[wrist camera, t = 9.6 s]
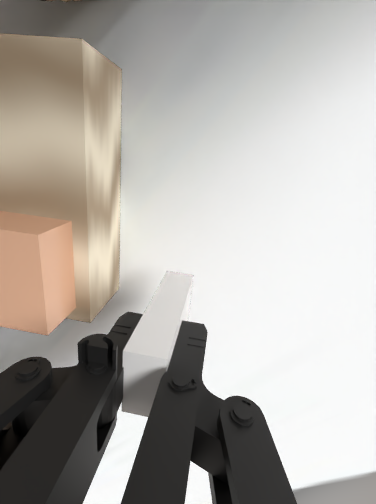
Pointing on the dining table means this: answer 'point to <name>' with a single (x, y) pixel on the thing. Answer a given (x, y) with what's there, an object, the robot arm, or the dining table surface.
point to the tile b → (35, 272)
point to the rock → (62, 0)
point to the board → (65, 151)
